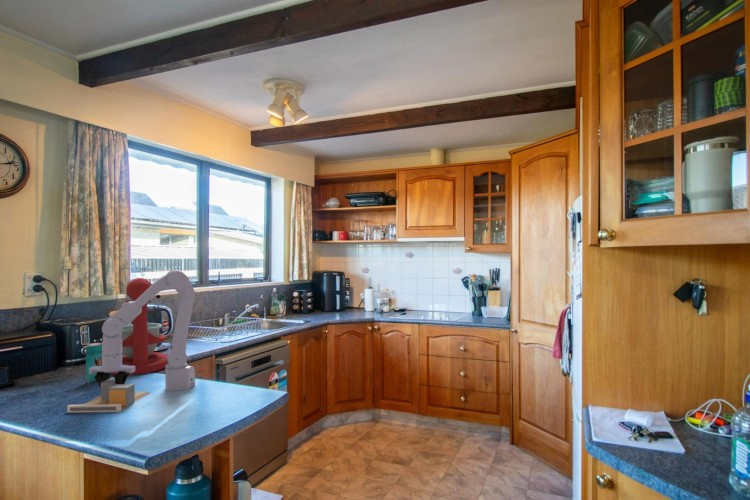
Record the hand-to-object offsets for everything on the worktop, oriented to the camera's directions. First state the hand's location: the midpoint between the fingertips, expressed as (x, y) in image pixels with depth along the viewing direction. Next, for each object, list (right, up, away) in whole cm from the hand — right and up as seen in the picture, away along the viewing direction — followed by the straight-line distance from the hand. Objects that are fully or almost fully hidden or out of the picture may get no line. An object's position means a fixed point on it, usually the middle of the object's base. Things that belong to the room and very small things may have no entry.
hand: (112, 393), depth 137 cm
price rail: (+3, -1, -12) cm, 13 cm away
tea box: (0, -1, 0) cm, 1 cm away
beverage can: (-21, -3, +22) cm, 31 cm away
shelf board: (+3, -2, -4) cm, 5 cm away
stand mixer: (-16, -4, +44) cm, 47 cm away
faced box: (+8, -1, -7) cm, 10 cm away
